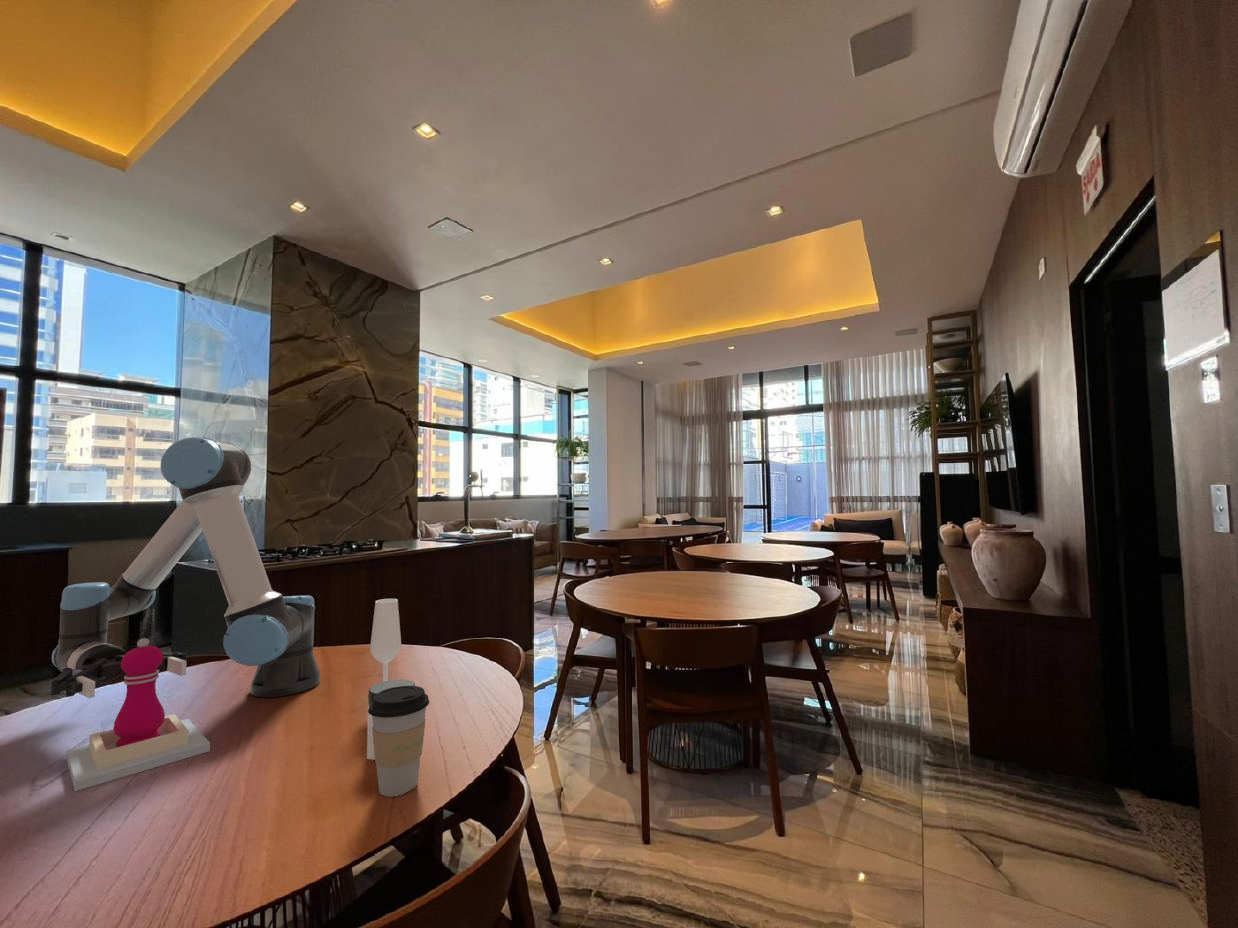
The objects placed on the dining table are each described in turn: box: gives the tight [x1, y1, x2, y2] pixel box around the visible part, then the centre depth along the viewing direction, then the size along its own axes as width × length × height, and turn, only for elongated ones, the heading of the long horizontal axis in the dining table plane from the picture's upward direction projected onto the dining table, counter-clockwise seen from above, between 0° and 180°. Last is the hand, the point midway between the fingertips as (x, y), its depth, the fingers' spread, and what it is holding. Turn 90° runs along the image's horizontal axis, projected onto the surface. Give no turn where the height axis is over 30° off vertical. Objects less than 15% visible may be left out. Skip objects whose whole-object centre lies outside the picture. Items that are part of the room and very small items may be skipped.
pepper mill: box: [113, 637, 166, 748], centre depth 101 cm, size 7×7×20 cm
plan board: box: [65, 714, 211, 792], centre depth 100 cm, size 18×18×4 cm
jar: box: [366, 678, 416, 759], centre depth 100 cm, size 9×8×12 cm
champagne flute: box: [369, 598, 402, 682], centre depth 123 cm, size 7×7×24 cm
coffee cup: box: [367, 685, 430, 798], centre depth 88 cm, size 9×9×15 cm
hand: (140, 678), depth 100 cm, fingers open, 13 cm apart
